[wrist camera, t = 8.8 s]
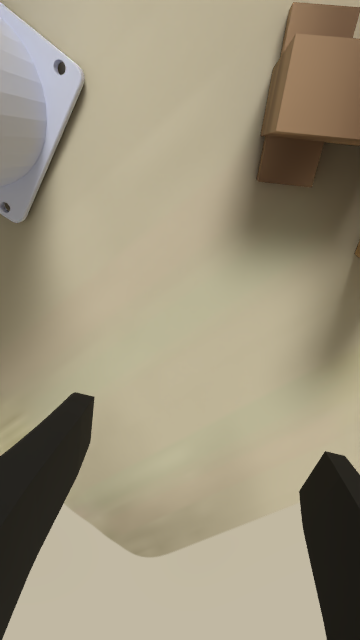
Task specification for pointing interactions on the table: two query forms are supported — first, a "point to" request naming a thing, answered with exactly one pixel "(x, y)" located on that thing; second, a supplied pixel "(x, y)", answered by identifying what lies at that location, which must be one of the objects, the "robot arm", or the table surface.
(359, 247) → the tan tapered flat block
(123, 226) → the table surface
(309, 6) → the walnut rail
